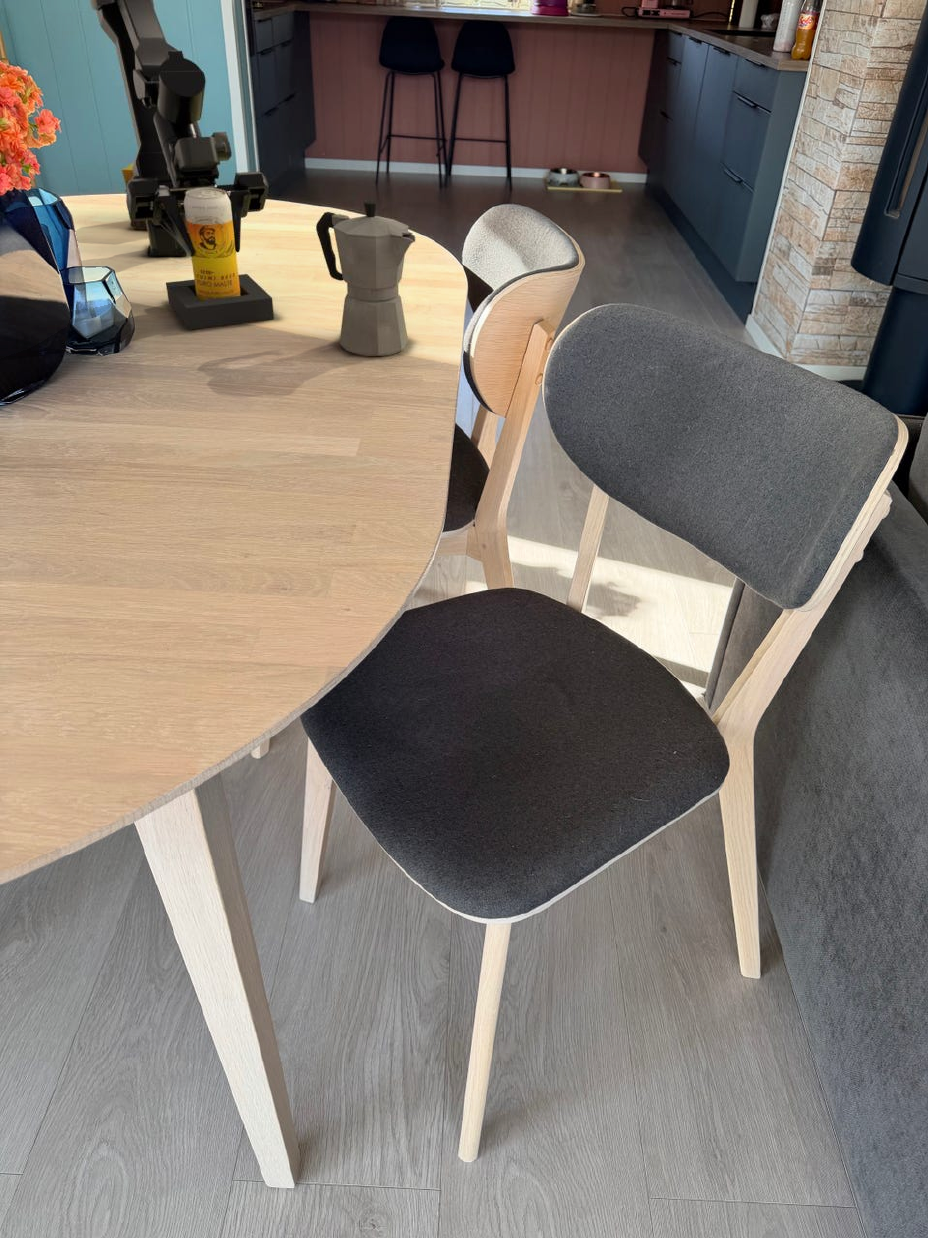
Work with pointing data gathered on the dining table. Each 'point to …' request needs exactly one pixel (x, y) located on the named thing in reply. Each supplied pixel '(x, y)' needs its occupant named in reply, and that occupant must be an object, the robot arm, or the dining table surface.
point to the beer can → (212, 243)
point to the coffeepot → (368, 278)
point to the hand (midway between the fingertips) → (215, 252)
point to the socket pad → (220, 305)
